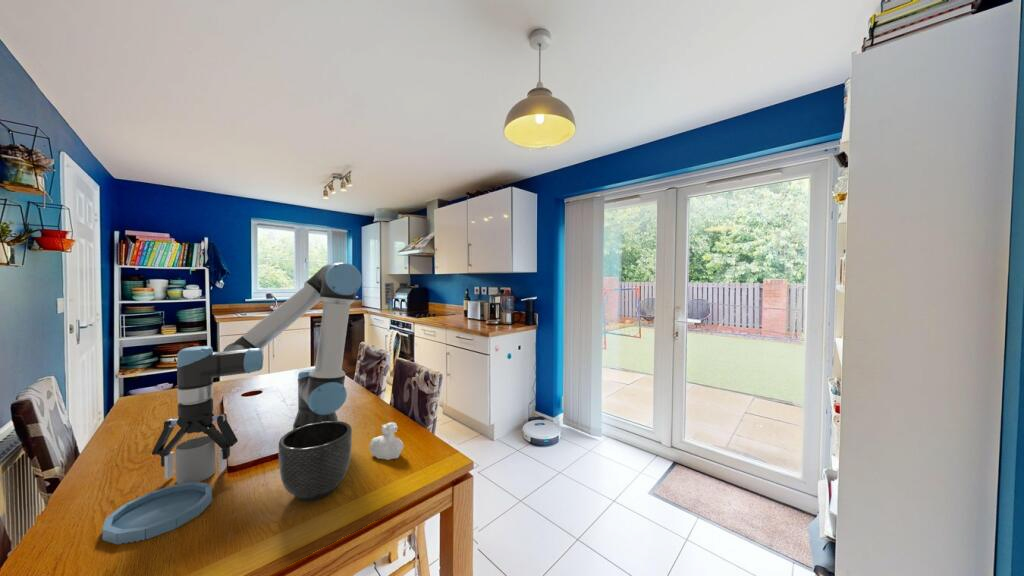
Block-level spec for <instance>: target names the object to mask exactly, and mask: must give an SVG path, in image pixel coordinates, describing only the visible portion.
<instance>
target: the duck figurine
mask: <svg viewBox="0 0 1024 576" xmlns="http://www.w3.org/2000/svg"><path fill="white" fill-rule="evenodd" d="M398 428H399V427H398V426H397V423H396V422H393V421H391V422H387V423H385V424H381V433H382V434H383V435H379V436H377V437H376V436H375V437H374V438H372V439H371V440H370V443H369V451H370V454H371V455H372V456H374V457H376V458H377V459H380V460H386V461H390V460H393V459H394V460H395V459H398V458H399V457H400V455H401V453H402V450H403V448H404V443H403V441H402V440H401V439H400V438H399V437H396V436H395V433H397V430H398Z"/></svg>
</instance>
